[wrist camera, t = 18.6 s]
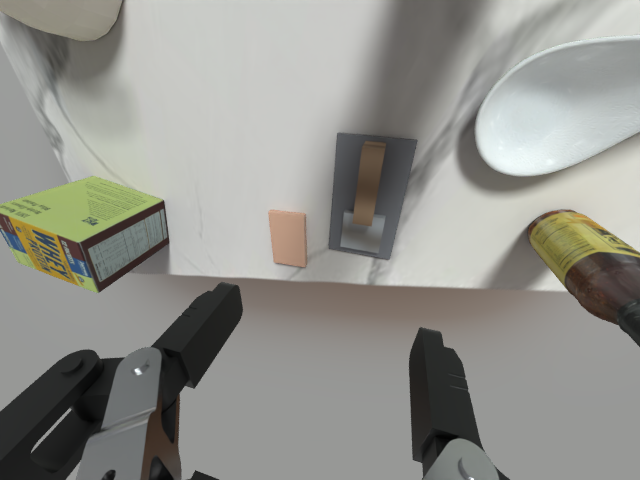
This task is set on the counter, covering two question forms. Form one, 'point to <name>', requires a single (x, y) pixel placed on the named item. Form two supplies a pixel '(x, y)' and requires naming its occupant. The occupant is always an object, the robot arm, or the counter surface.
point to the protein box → (85, 231)
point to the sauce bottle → (591, 266)
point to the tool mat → (389, 188)
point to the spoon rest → (561, 106)
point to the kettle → (65, 16)
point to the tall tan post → (365, 203)
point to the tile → (288, 237)
